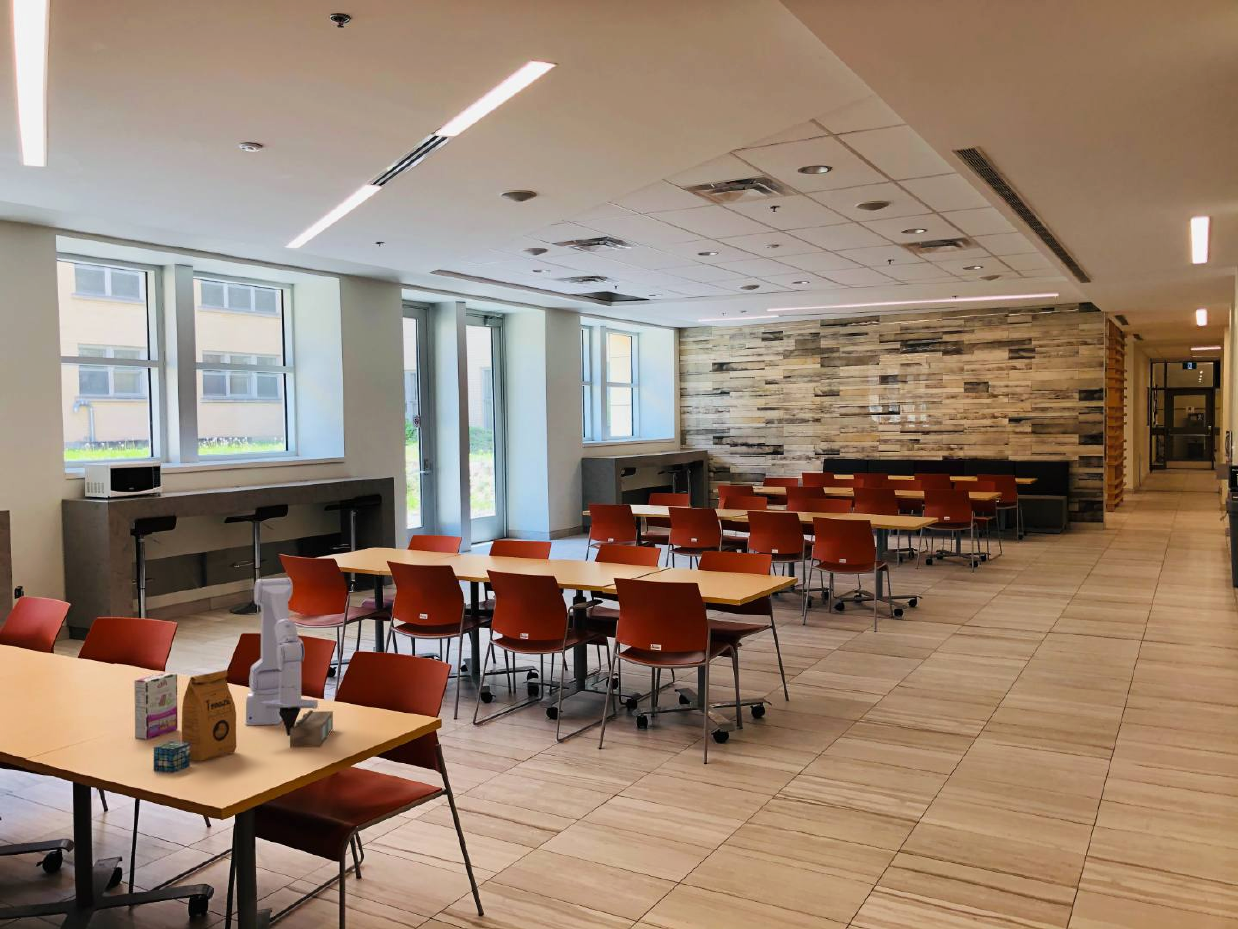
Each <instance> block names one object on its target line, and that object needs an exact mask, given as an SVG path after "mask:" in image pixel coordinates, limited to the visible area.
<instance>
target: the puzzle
mask: <svg viewBox="0 0 1238 929" xmlns="http://www.w3.org/2000/svg"><path fill="white" fill-rule="evenodd" d="M190 766H191V759H190V743H184V742H182V741H181V742H180V741H175V740H174V741H173V740H170V741H167V742H165V743H162V744H160V745H157V746H154V747H153V772H157V773H166V774H167V773H168V774H175V773H178V772H179V771H182V770H185V769H186V768H190Z"/></svg>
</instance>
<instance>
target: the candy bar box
mask: <svg viewBox="0 0 1238 929" xmlns="http://www.w3.org/2000/svg"><path fill="white" fill-rule="evenodd" d="M177 730H178V673H175V672H174V673H173V672H162V673H158V674H154V675H150V676H146V677H141V678H139V679H135V680H134V738H135V739H139V740H151V739H153V738H156V737H160V736H163V735H165V734H169V733H171V732H173V731H177Z"/></svg>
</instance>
